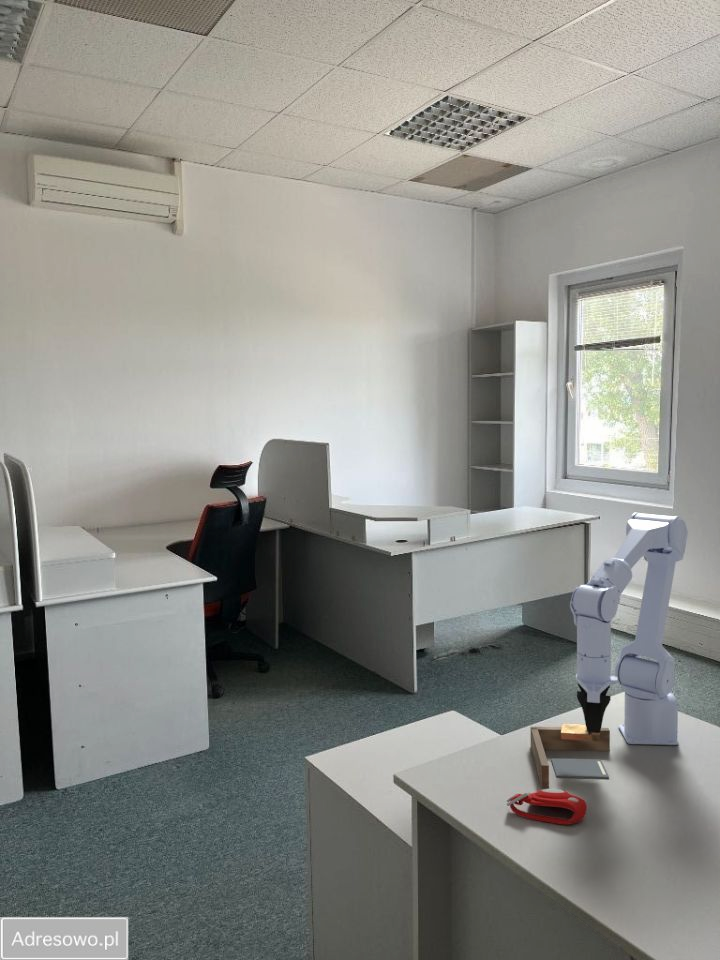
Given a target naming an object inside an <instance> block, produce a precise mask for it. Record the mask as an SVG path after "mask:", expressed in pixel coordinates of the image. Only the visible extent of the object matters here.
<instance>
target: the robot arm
mask: <svg viewBox="0 0 720 960" xmlns="http://www.w3.org/2000/svg"><path fill="white" fill-rule="evenodd" d="M625 527H626V528H625V533H626V534H625V535H626V537H624V540H623V542H622V543H621V545H620V547H619V549H618V550H617V552H616V554H615V555H614V557H609V558H606V559H605V560H603V561H602V562H601V564H600V565H599V567H598V569H597V570H596V571H595V573H594V574H593V575H592V576H591V578H590V579H589V580H588V582H587V583H586V584H580V585H579V586H577V587H576V588H575V589H574V590H573V592H572V594H571V599H570V602H569V608H570V611H571V613H572V615H573V623H574V626H575V627H576V674H575V681H576V683H577V686H578V688H579V690H580V691H579V690H577V691H576V699H577V701H578V702H579V704H580V707H581V710H582V714H583V718H584V723H585V724H584V725H586V728H587V731H588V732H593V733H600V730H601V728H602V726H603V720H604V717H605V716H604V714H605V712H606V709H607V707H608V706H609V704H610V703H611V695H607V693H608V691H609V690H610V688H611V685H612V684H613V685H617V684H618V685H619V686H620V690H621V691H622V692H624V721H623V722H624V724H618V729H619V730H620V733H621V734H622V736H623V737H624V739H625V741H626V743H627V744H629V745H656V746H657V745H661V746H662V745H664V746H666V745H667V746H678V745H679V740H678V729H679V728H678V727H679V726H678V723H679V721H678V719H679V714H678V713H679V712H678V711H679V708H678V703H677V699H676V697H675V695H674V694H673V692H672V690H673V688H674V685H675V679H676V677H675V659H674V657H673V656H672V655H671V654H670V652H668V650H667V649H666V648H665V647H664V646H663V640H664V637H665V636H664V634H665V630H666V629H665V628H666V622H667V616H668V611H669V606H670V599H671V594H672V588H673V581H674V576H675V575H674V574H675V569H676V564H677V562H680V561H682V560H683V559H684V554H685V552H686V546H687V539H688V535H689V534H688V528H687V523H686V521H685V520H684V518H683V517H682V516H680V515H674V516H673V515H663V514H653V513H651V514H650V513H641V512H638V511H637V512H635V511H634V512H633V513H632V514H631V515H630V516H629V518H628V520H627V521H626V526H625ZM642 557H644V558H645V559H646V562H647V569H646V573H645V581H644V584H643V591H642V597H641V603H640V610H639V616H638V620H637V626H636V633H635V639H634V640H632V642H630V643H627V644H626V645H624V646H622V647H621V650H620V654H619V657H618V659H617V661H616V663H615V667H614V675H613V676H612V675H611V673H612V672H611V671H612V670H611V669H612V668H611V667H612V666H611V665H612V664H611V663H612V662H611V659H612V658H611V656H612V654H611V653H612V647H611V643H612V642H611V641H612V639H611V637H612V636H611V635H612V627H611V626H612V625H611V624H612V620H613V619H614V618H615V617H616V615H617V612H618V607H619V604H620V602H621V595H622V593H624V591H625V590H626V587H628V586H629V584H630V582H631V581H632V579H633V572H632V569H633V567H635V565H636V564H637V563H638V562H639V561H640V560H641V558H642ZM638 656H641V657H644V658H641V657H638ZM645 657H646V658H650V659H653V660H649V659H645ZM654 660H656V661H654Z"/></svg>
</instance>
